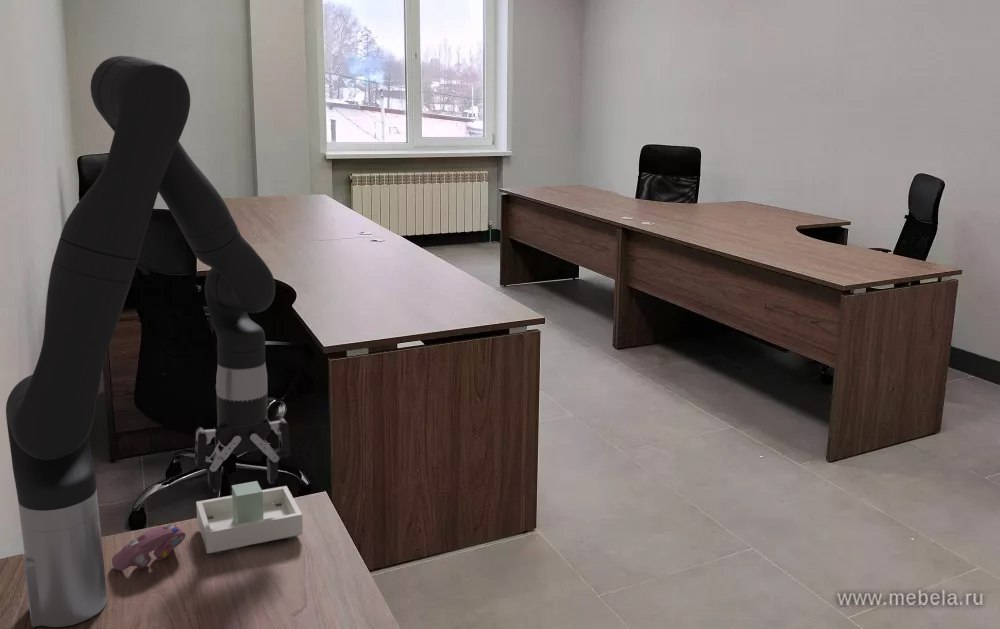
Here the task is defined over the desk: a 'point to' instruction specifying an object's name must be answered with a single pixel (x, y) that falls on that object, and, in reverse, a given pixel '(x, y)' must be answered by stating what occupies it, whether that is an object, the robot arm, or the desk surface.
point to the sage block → (247, 502)
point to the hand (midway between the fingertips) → (243, 485)
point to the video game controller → (148, 547)
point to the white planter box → (225, 534)
